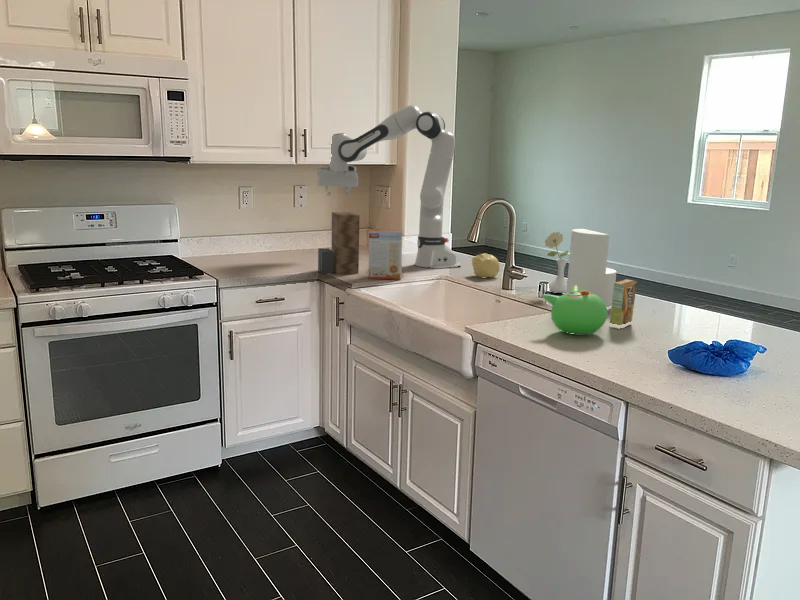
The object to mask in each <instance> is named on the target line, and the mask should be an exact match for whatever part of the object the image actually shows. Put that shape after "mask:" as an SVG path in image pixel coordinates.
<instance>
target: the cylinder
mask: <svg viewBox="0 0 800 600" xmlns="http://www.w3.org/2000/svg"><path fill="white" fill-rule="evenodd" d="M609 242H610V234H608V233H604V232H599V231H595V230H590V229H586V228H573V229H571V237H570V246H569V247H570V248H569V258H568V269H567V270H568V272H567V280H566V281H567V291H566V293H568V292H570V291H571V289H572V288H573V286H575V285H577V286H578V288H579V290H583V291H589V292H591V293H593V294H595V295H597V296H599V297H600V298H601V299H602V300H603V302H604V303H605V305H606V307H609V306H612V298H613V289H614V283H615V282H617V281H616V280H617V279H616V278H617V270H616V269H614V268H610V267H607V263H608V253H609V246H610V245H609Z"/></svg>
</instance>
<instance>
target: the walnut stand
mask: <svg viewBox="0 0 800 600" xmlns="http://www.w3.org/2000/svg"><path fill="white" fill-rule="evenodd" d="M330 250H331V251H333V273H335V274H336V275H343V274H342V273H357V274H359V273H360V272H359V269H360V268H359V266H360V265H359V261H360V214H358V213H355V212H351V211H350V212H349V211H348V212H345V211H344V212H343V211H341V212H339V211H338V212H337V211H336V212H334V211H333V212H331V248H330Z"/></svg>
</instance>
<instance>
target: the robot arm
mask: <svg viewBox="0 0 800 600" xmlns="http://www.w3.org/2000/svg"><path fill="white" fill-rule="evenodd" d="M445 128H446V123H445V120H444V119H443V117H442V116H440V115H439V114H437V113H435V112H432V111H424V112H422V111H421V109H420V108H419V107H418V106H417V105H414V104H410V105H407V106H405V107H402V108H400V109H398V110H396V111H395V112H393V113H392V114H390V115H389V116H388V117H386V118H385V119H384V120H383V121H381V122H379V123H378V124H377V125H376V126H375V127H373V128H371V129H370V130H369V131H366V132H365V133H363V134H362V135H359V136H358V137H356V138H352V137H350V136H349V135H347V134H346V133H344V132H343V133H342V132H340V133H339V132H338V133H334V134H332V135H333V136H332V135H331V136H332V144H331V154H332V157H331V162H330V164H329V163H328V166H319V168H317V170H316V174H317V182H316V183H317V186H319V187H324V190H325V192H326V196H329V197H330V196H331V192H330V191H329V190H328V189H329V187H347V191H345V196H346V197H349V196H350V192H351V190H352V187H356V188H357V187H358V185H359V175H358V173H357V166H354V165H351V164H348V163H352V162H359V161H361V160H363V159H364V158H365V157H366V155H367V152H368V151H367V149H368V148H370V147H372V146H373V145H374V144H376V143H379V142H383V141H391V140H396V139H399V138H400V137H403V136H404V135H406V134H407V133H409V132H411V131H413V130H417V131H418V133H420V135H422V136H424V137H426V138H427V139H429V140H431V147H430V151H429V156H428V160H427V165H426V169H425V173H424V176H423V177H424V178H423V181H422V185H421V189H420V195H419V201H420V210H419V211H420V212H419V224H418V225H419V226H418V228H419V229H418V230H419V231H418V236H417V253H416V258H415V262H414V266H417V267H421V268H428V267H430V269H447V268H446V267H451V268H459V267H458V266H461V267H462V264H461V263H460V262H458V261H457V260H458V259H457V255H456V253H455V252H454V250H452V249H451V248H450V247H449V246H448V245H446V243H448V242H449V239H448V237H444V236H443V221H444V219H443V218H444V217H443V216H444V200H445V198H444V197H445V195H446V194H445V193H446V189H447V185H448V182H449V181H448V180H449V177H450V171H451V169H452V163H453V160H454V159H453V158H454V155H455V147H456V137H455V135H454V134H453V133H452V132H450V131H448V130H446V129H445Z"/></svg>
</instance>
